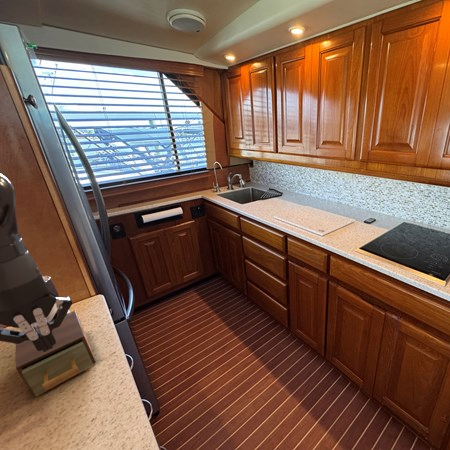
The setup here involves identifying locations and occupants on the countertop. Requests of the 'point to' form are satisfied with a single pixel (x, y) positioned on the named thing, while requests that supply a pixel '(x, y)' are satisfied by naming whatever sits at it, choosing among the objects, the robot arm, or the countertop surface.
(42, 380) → the drawer
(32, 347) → the cabinet
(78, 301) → the countertop surface
